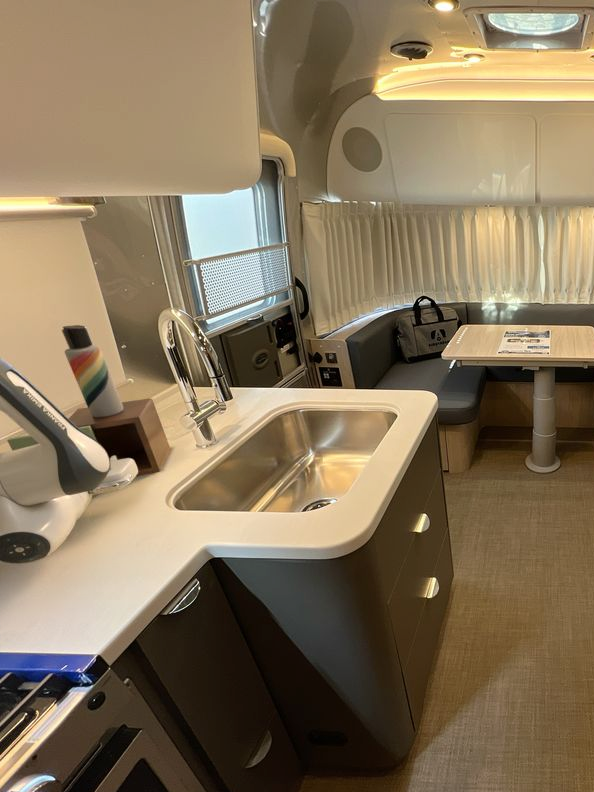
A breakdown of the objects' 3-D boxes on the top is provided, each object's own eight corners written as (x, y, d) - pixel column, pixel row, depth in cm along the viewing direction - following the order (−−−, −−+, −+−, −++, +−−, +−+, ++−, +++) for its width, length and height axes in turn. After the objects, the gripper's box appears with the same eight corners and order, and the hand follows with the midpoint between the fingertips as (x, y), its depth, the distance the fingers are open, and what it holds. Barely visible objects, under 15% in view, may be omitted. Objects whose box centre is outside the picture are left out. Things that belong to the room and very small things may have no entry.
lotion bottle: (91, 412, 109) (54, 325, 101) (123, 405, 112) (90, 320, 104) (91, 420, 105) (53, 330, 97) (125, 412, 108) (90, 325, 100)
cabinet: (83, 486, 107) (57, 429, 101) (101, 461, 117) (77, 408, 111) (159, 471, 112) (139, 416, 106) (170, 448, 122) (151, 397, 116)
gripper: (121, 470, 93) (139, 440, 105) (-23, 498, 85) (14, 462, 97) (132, 498, 96) (149, 465, 107) (-6, 526, 88) (28, 488, 99)
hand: (84, 464), depth 102 cm, fingers open, 8 cm apart
